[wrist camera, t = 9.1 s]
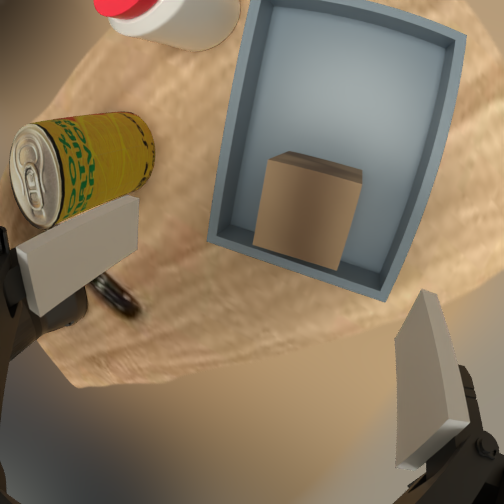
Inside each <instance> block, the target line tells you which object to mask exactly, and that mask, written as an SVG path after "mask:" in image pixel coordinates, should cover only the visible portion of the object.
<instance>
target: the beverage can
mask: <svg viewBox="0 0 504 504" xmlns="http://www.w3.org/2000/svg"><path fill="white" fill-rule="evenodd" d="M154 161H155V146H154V141H153V137H152V134H151V132H150V130H149V128H148V126H147V125H146V123H145V122H144V121H143V120H142V119H141V118H140V117H139V116H137V115H135V114H133V113H130V112H112V113H101V114H91V115H82V116H74V117H67V118H60V119H53V120H47V121H41V122H35V123H30V124H27V125H25V126H23V127H22V128H21V129H20V130H19V131H18V132H17V134H16V136H15V138H14V140H13V143H12V147H11V152H10V161H9V170H10V180H11V186H12V190H13V193H14V197H15V200H16V202H17V204H18V207H19V209H20V211H21V212H22V214H23V215H24V217H25V218H26V219H27V220H28V221H29V222H30V223H31V224H32V225H33V226H35V227H37V228H38V229H46V228H49V227H51V226H53V225H55V224H57V223H59V222H61V221H64V220H66V219H68V218H70V217H72V216H75V215H77V214H79V213H81V212H84V211H86V210H88V209H91V208H93V207H95V206H98V205H100V204H102V203H105V202H107V201H110V200H112V199H115V198H117V197H120V196H122V195H125V194H127V193H130V192H132V191H135V190H138V189H139V188H140V187H142V186H143V185H144V184H145V183H146V182H147V180H148V179H149V177H150V176H151V173H152V170H153V167H154Z"/></svg>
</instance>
